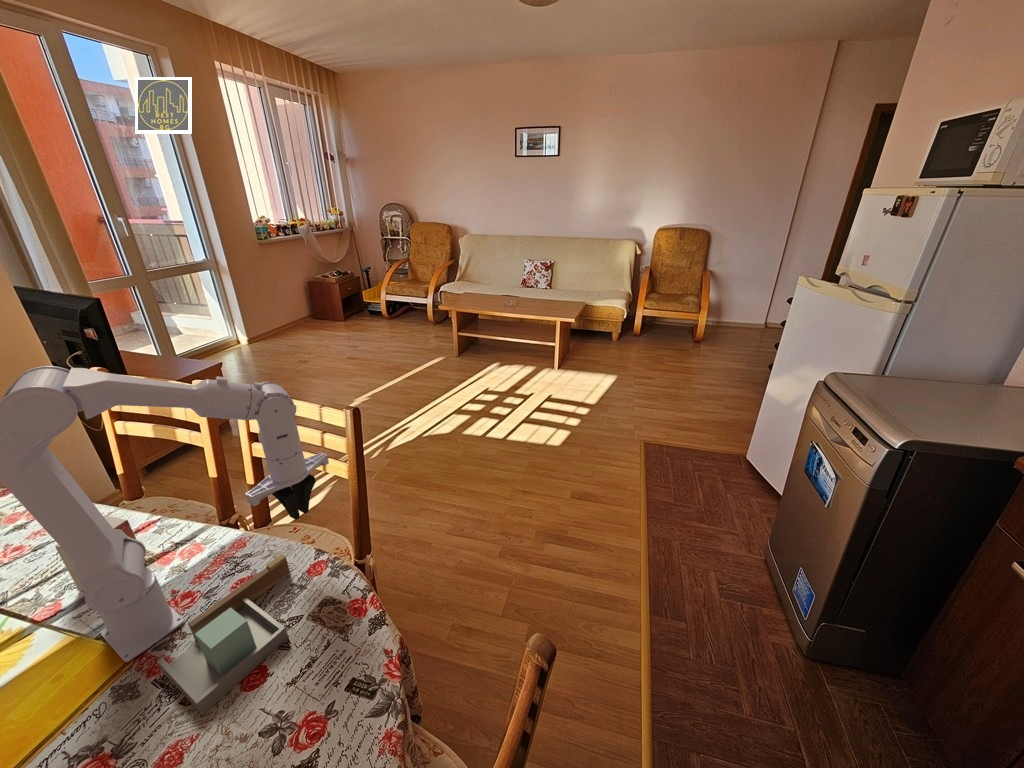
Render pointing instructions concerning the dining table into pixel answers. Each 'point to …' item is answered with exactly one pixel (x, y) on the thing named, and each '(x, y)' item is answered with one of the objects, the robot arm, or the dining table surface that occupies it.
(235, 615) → the block
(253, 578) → the long wooden plank
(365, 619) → the dining table surface
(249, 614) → the grey open tray
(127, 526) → the small box
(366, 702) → the dining table surface
